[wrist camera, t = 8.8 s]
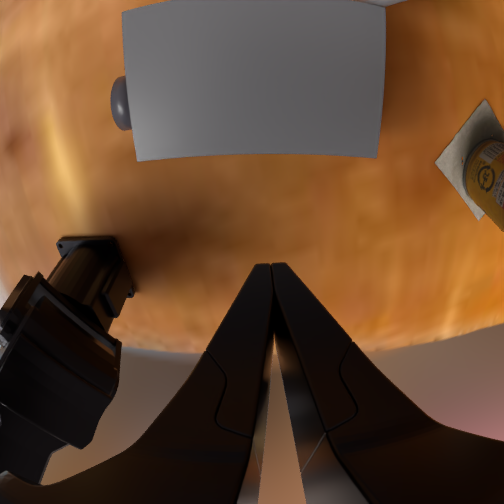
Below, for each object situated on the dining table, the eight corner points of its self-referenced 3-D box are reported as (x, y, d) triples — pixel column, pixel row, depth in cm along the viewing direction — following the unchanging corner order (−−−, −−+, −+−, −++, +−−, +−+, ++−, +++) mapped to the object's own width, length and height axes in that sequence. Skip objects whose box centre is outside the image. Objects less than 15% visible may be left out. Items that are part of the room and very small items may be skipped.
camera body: (145, 140, 17) (93, 186, 11) (133, 9, 11) (70, -9, 6) (358, 136, 17) (409, 180, 11) (363, 3, 11) (422, -21, 5)
